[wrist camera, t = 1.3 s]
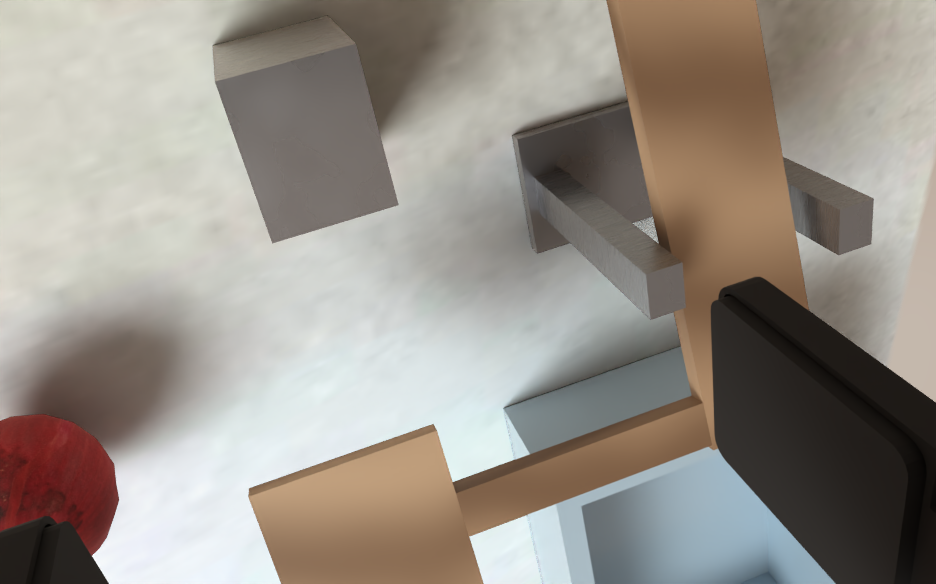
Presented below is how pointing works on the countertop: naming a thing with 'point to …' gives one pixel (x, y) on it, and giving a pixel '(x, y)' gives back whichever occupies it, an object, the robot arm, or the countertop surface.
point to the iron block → (304, 126)
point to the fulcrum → (646, 205)
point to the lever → (705, 273)
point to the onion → (56, 476)
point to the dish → (651, 498)
